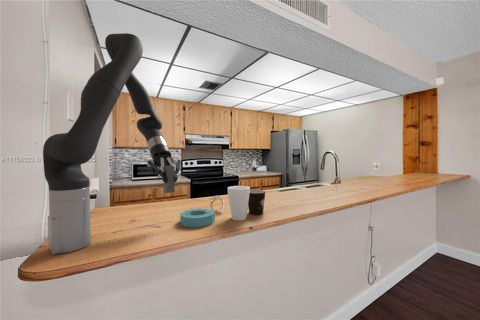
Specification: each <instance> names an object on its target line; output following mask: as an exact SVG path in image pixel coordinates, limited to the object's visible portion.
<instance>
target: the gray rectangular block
mask: <svg viewBox="0 0 480 320" xmlns="http://www.w3.org/2000/svg"><path fill="white" fill-rule="evenodd" d="M174 168H175V165H174V166H164V170H165V173H166V175H167V177H168V182H167V183H165V182H163V193H166V194H171V193H175V182H174Z"/></svg>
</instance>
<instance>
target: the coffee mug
mask: <svg viewBox="0 0 480 320" xmlns="http://www.w3.org/2000/svg"><path fill="white" fill-rule="evenodd" d="M265 197H266V191H265V190H262V189H250V194H249V201H248V214H249V215H252V216H261V215H263V214H264V208H265V199H266V198H265Z"/></svg>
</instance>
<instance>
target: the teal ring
mask: <svg viewBox="0 0 480 320" xmlns="http://www.w3.org/2000/svg"><path fill="white" fill-rule="evenodd" d="M213 210H214V209H213ZM213 210H211V208H210V209H209V208H192V209H187V210H183V211H182V212H181V213H180V214H179V215H180V217H179V219H180V221H179V222H180V225H181V226H183V227H186V228H201V227H202V226H203V227H207V226H210V225H213V224H214V222H216V217H215V216H216V215H215V214H216V212H214V211H215V210H214V211H213Z"/></svg>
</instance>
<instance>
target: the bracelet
mask: <svg viewBox="0 0 480 320" xmlns="http://www.w3.org/2000/svg"><path fill="white" fill-rule="evenodd" d="M217 200H220V201H221V203H222V204H221V208H220V209H219V210H214V209H213V204H214V203H215V202H216V201H217ZM225 204H226V203H225V200H224V198H223V197H221V195H215V196H213V197H212V198H211V200H210V202H209V208H210V210H213V211H214V212H215V214H216V213H217V214H219V213H220V212H222V211H223V210H224V208H225Z"/></svg>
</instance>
